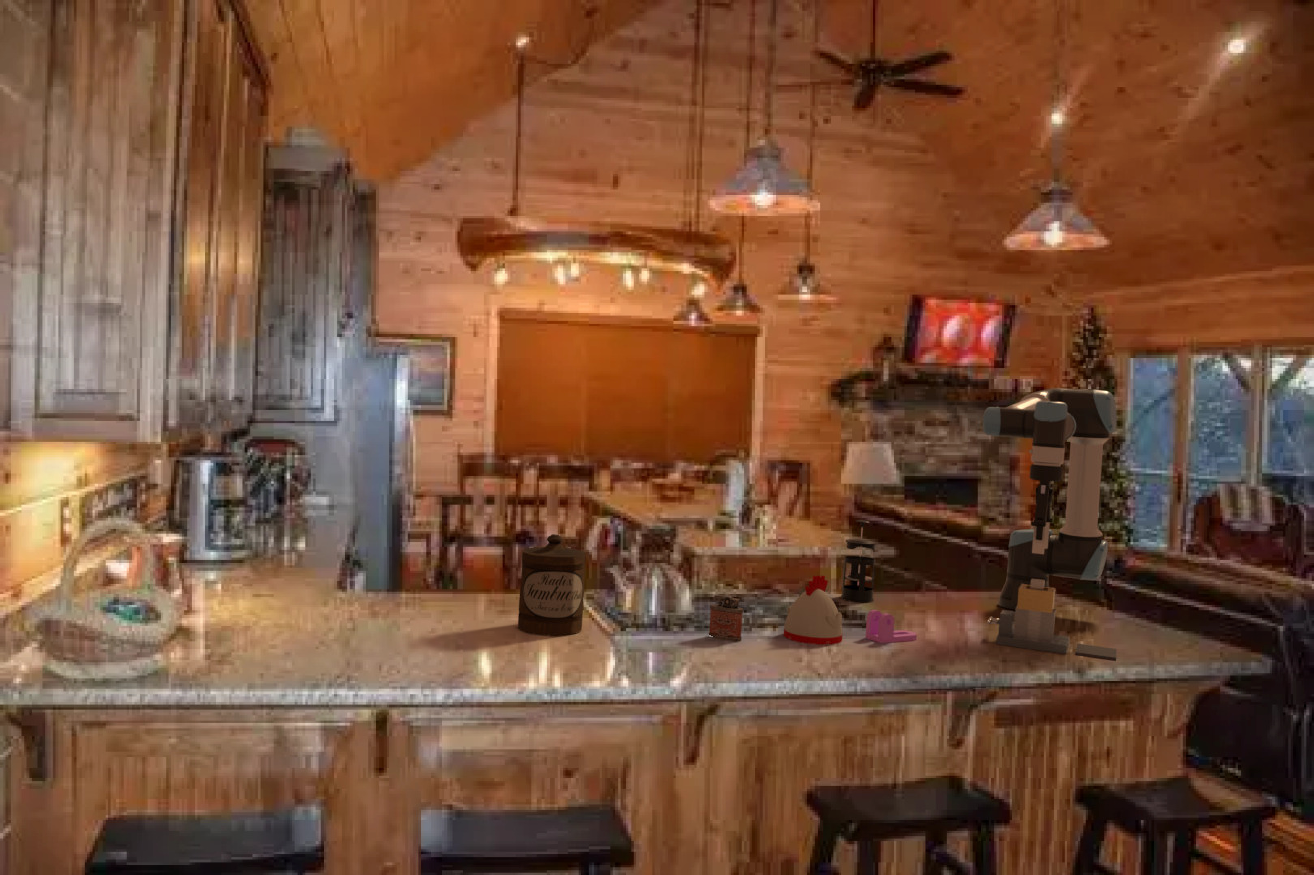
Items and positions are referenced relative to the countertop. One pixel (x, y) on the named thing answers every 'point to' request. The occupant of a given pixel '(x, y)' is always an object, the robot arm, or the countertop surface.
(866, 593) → the french press
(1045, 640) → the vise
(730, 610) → the lighter
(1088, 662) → the countertop surface
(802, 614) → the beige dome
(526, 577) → the wooden container
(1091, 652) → the rubber mat
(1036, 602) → the orange-brown square frame
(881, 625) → the bracket
